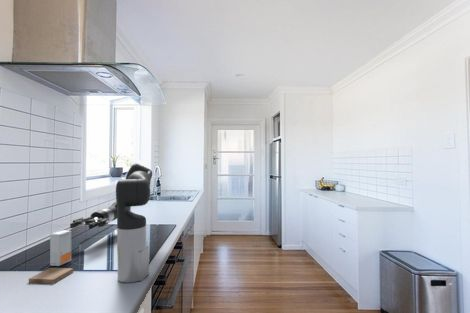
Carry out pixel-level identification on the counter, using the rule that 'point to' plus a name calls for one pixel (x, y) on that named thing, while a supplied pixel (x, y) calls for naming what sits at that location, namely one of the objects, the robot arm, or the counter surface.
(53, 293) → the counter surface
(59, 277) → the plate
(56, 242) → the skincare box
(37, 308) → the counter surface
